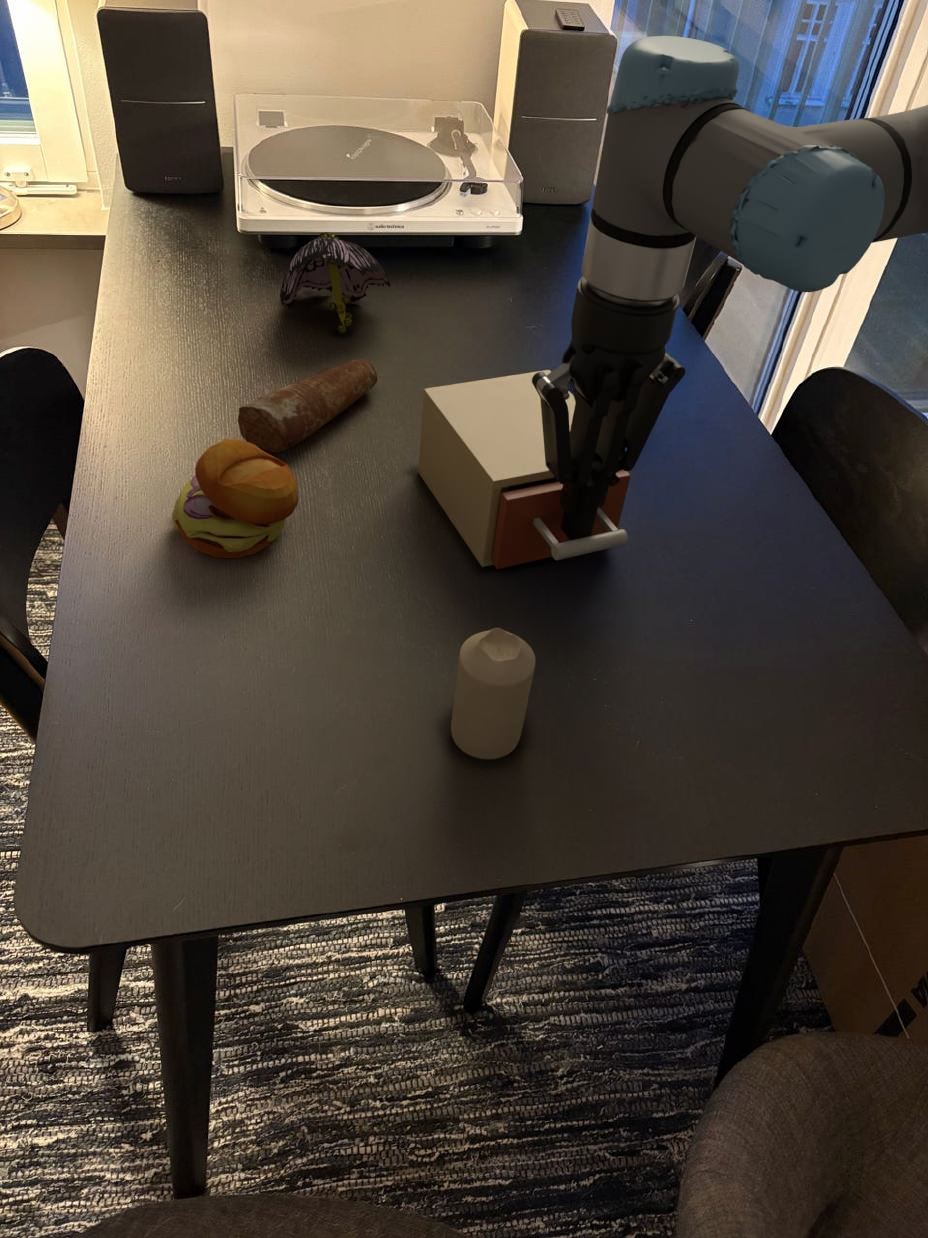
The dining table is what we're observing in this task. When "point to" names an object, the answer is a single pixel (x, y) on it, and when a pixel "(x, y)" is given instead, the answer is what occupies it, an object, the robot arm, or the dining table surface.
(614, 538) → the drawer
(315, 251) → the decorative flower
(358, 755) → the dining table surface
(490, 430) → the small drawer cabinet
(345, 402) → the brown sausage
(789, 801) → the dining table surface
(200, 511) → the cheeseburger
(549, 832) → the dining table surface
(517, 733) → the candle
